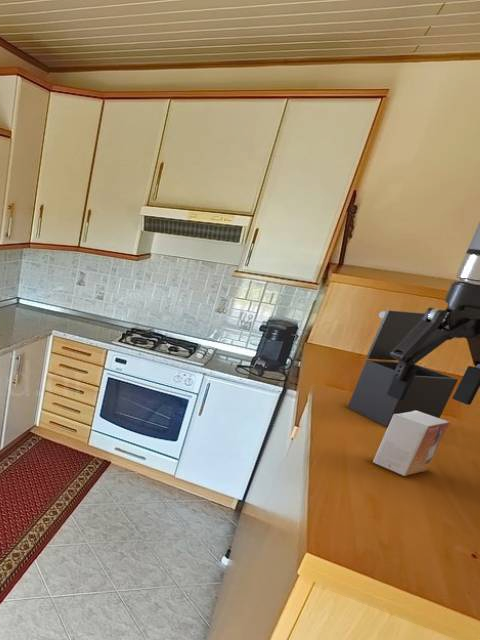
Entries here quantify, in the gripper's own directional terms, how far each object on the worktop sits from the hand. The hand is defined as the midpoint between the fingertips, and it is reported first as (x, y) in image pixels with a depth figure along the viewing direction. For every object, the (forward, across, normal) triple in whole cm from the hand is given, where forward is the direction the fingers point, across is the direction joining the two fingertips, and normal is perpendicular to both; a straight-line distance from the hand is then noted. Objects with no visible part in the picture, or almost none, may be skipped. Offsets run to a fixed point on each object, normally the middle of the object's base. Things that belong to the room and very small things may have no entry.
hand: (428, 399), depth 89 cm
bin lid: (-5, -22, -29) cm, 37 cm away
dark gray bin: (+14, -22, -24) cm, 36 cm away
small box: (+14, 0, 0) cm, 14 cm away
